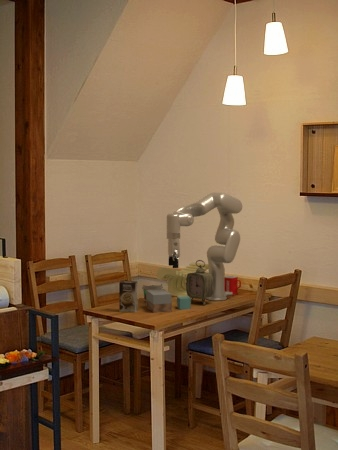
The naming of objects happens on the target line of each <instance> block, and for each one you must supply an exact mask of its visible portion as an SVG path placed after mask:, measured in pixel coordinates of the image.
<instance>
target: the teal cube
mask: <svg viewBox="0 0 338 450" xmlns="http://www.w3.org/2000/svg"><path fill="white" fill-rule="evenodd" d="M191 299H192V297H188V296H185V297H178V296H176V307H177V309H179V310H191V308H192V306H191V304H192V302H191Z"/></svg>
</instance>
